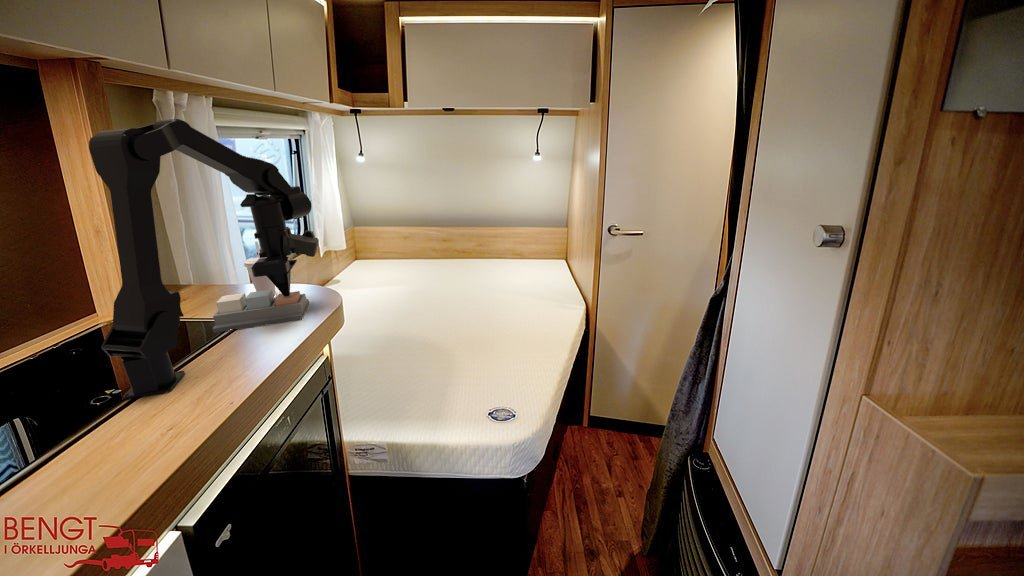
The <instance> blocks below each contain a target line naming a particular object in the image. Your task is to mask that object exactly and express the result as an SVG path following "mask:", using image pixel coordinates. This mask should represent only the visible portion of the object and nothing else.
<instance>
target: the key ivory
mask: <svg viewBox="0 0 1024 576" xmlns="http://www.w3.org/2000/svg"><path fill="white" fill-rule="evenodd" d="M246 297H247V295H246V292H243V293H236V294H228V295H222V296H221V297H220V298H219V299H218V300H217V301H216V307H217V311H219V314H222V313H229V312H236V311H242V310H243V309H244V308H245V307H246V301H245V298H246Z"/></svg>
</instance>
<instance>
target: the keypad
mask: <svg viewBox="0 0 1024 576" xmlns="http://www.w3.org/2000/svg"><path fill="white" fill-rule="evenodd" d="M300 295H301V299H300V301H299V303H292V304H285V305H278V306H276V305H275V301H274V302H273V303H272V305H271V306H270V307H264V308H257V309H250V310H248V308H247V305H246V307H245V308H244V309H243V310H242V311H236V312H229V313H222V314H219V311H218V310H217V311H216V312H215V313H214V315H212V318H213V321H214V326H213V327H212V332H213V334H217V333H224V332H223V331H225V332H228V331H227V330H230V329H238V330H243V329H251V328H257V327H264V326H270V325H277V324H283V323H284V324H285V323H291V321H292V322H297V321H303V319H304V316H305V314H306V312H307V309H308V307H309V305H310V301H309V299H308V298H307V295H306V293H302V294H301V293H300ZM275 299H276V297H274V300H275Z"/></svg>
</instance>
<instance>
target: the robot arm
mask: <svg viewBox="0 0 1024 576" xmlns="http://www.w3.org/2000/svg"><path fill="white" fill-rule="evenodd" d="M88 149H89V154H90V157H91V160H92V162H93V166H94V169H95V171H96V173H97V174H98V176H99V177H100V178H101V180H102V181H103V183H104V184H105V185H106V187H107V188H108V190H109V193H110V200H111V207H112V215H113V222H114V230H115V237H116V245H117V253H118V261H119V268H120V275H121V287H120V289H119V291H118V293H117V295H116V298H115V300H114V302H113V311H112V313H113V314H112V326H111V327H110V329H109V331H108V332H107V334H106V336H105V338H104V341H103V342H102V344H101V346H100V348H101V350H102V351H103V352H104V353H106V355H107V356H108V357H119V358H120V359H121V364H122V366H123V369H124V371H125V374H126V376H127V380H128V382H129V384H130V388H129V389H128V390H127V391H126V392H125V393H124V394H123V395H122V397H123V400H128V398H129V399H133V398H139V397H145V396H151V395H152V396H153V395H158V394H164V393H168V392H171V391H172V390H173V389H174V387H175V386H176V385H177V384H178V383H179V381H180V380H181V379H182V378H183V377H184V375H185V374H186V372H185V370H178V371H174V367H173V364H172V362H171V357H170V356H169V355H170V354H169V351H172V350H173V349H175V348H177V347H178V331H179V330H178V329H179V328H180V325H181V317H182V318H183V317H184V316H185V315H184V313H183V311H182V308H181V294H180V292H179V291H169V290H168V289H167V286H166V285H164V282H163V279H162V271H161V263H160V253H159V247H158V246H159V245H158V237H157V230H156V229H157V228H156V221H155V211H154V203H153V198H152V197H153V195H152V190H153V187H154V186H155V183H156V181H157V179H158V177H159V175H160V172H161V157H162V156H164V155H167V154H169V153H172V152H174V151H175V150H176V151H177V152H179V153H182V154H183V155H186V156H188V157H190V158H192V159H194V160H196V161H197V162H200V163H202V164H204V165H206V166H207V167H210V168H212V169H214V170H217V171H219V172H220V173H222V174H224V175H225V176H227V177H228V178H229V181H230V182H231V183H232V184H233V185H235V186H236V187H237V188H239V189H240V190H242V191H243V192H245V193H248V194H246V195H245V198H244V199H242V201H241V203H240V205H239V206H240V207H241V208H250V212H251V216H252V220H253V223H254V227H255V233H254V234H253V235H254V239H255V240H256V239H257V240H258V245H259V249H260V253H259V256H260V259H258V260H257V261H256V262H255V264H254V265H253V266H252V272H253V276H254V277H260V276H267V277H268V278H269V279H270V280H271V281H272V283H273V284H274V285H275V288H276V289H277V290H278V291H279V292H280V294H283V296H289V295H290V292H291V273H292V269H293V268H294V267H295V265H296V263H297V261H298V260H297V259H291V258H290V257H289V256H291V255H293V254H295V255H296V256H300V255H306V257H311V258H312V257H315V256H316V254H317V253H318V247H319V246H318V245H319V238H318V237H315V234H314V231H312V230H307V229H306V230H305V231H304V232H303V233H302V234H299V233H297V234H295V233H292V230H291V228H289V226H287V224H286V221H287V222H288V221H291V220H295V219H298V218H302V217H306V216H308V215H309V214H310V213H311V211H312V202H311V200H310V198H309V197H308V195H307V194H306V193H304V192H303V191H301V187H300V186H299V185H298V186H296V185H294V186H291V185H290V183H289V182H288V181H287V180H286V179H285V177H284V176H283V175H282V174H281V173H280V171H279V168H278V167H277V166H276V165H275V164H274V163H271V162H268V161H266V160H263V159H258V158H255V157H248V156H246V155H242V154H240V153H239V152H237V151H235V150H233V149H231V148H229V146H226V145H224V144H222V143H221V142H219V141H217V140H215V139H214V138H211V137H210V136H208V135H206V134H205V133H203V132H201V131H199V130H197V129H195V128H194V127H193V126H191V125H190V124H189V123H188V122H186V121H185V120H182V119H180V118H172V119H162V120H161V119H160V120H156V121H154V122H153V123H151V124H147V125H142V126H140V127H135V128H134V127H132V128H131V127H130V128H119V129H108V130H102V131H98V132H96V133H95V134H94V135H93V136H92V137H90V139H89V142H88ZM259 256H258V257H259ZM266 257H267V258H266Z"/></svg>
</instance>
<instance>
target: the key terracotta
mask: <svg viewBox="0 0 1024 576" xmlns="http://www.w3.org/2000/svg"><path fill="white" fill-rule="evenodd" d="M300 294H301V291H300V290H296V291H290V295H289V296H283V294H282V293H278V294H276V297H275V298H276V299H275V300H274V301H275V305H276V306H278V305H285V304H292V303H299V301H300V299H301V295H300Z"/></svg>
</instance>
